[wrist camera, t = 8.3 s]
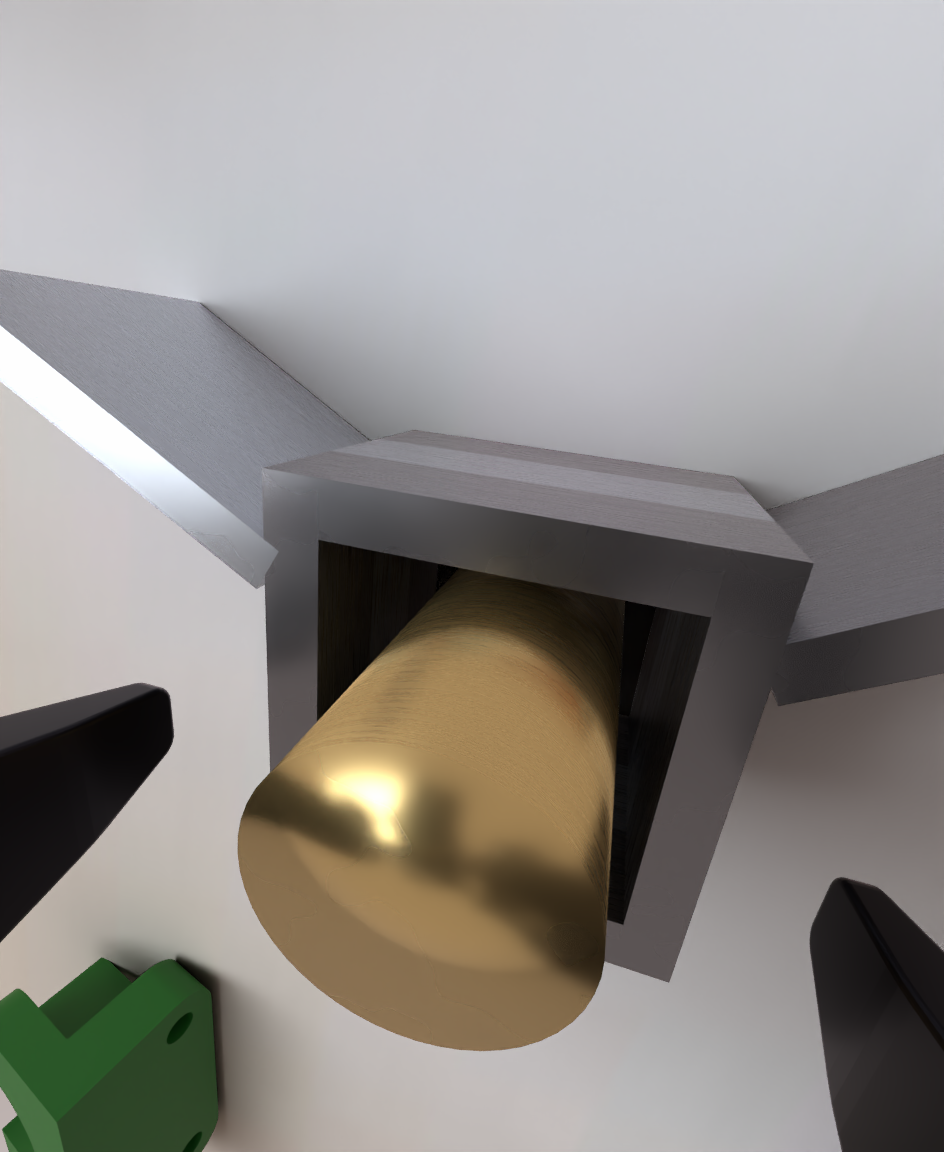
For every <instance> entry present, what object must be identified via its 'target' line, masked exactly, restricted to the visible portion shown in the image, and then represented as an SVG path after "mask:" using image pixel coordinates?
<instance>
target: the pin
mask: <svg viewBox="0 0 944 1152" xmlns="http://www.w3.org/2000/svg"><path fill="white" fill-rule="evenodd" d="M624 616H625V600H620V599H615V598H610V597H605V596H600V595H595V594H590V593H585V592H580V591H575V590H569V589H564V588H559V587H554V586H549V585H544V584H539V583H534V582H529V581H524V580H519V579H514V578H509V577H504V576H499V575H494V574H489V573H484V572H479V571H473V570H468V569H463V568H459V569H458V570H457V571H456V572H455V573H454V574H453V575H452V576H451V577H450V578H449V579H448V580H447V582H446V583H445V584H444V585H443V586H442V587H441V588H440V589H439V590H438V591H437V592H436V593H435V595H434V596H433V597H432V598H431V599H430V600H429V601H428V602H427V603H426V604H425V605H424V606H423V608H422V609H421V610H420V611H419V612H418V613H417V614H416V615H415V616H414V617H413V618H412V619H411V621H410V622H409V623H408V624H407V625H406V626H405V627H404V628H403V629H402V630H401V631H400V632H399V634H398V635H397V636H396V637H395V638H394V639H393V640H392V641H391V642H390V643H389V644H388V645H387V647H386V648H385V649H384V650H383V651H382V652H381V653H380V654H379V655H378V656H377V657H376V658H375V660H374V661H373V662H372V663H371V664H370V665H369V666H368V667H367V668H366V669H365V670H364V672H363V673H362V674H361V675H360V676H359V677H358V678H357V679H356V680H355V681H354V682H353V683H352V685H351V686H350V687H349V688H348V689H347V690H346V691H345V692H344V693H343V694H342V695H341V696H340V698H339V699H338V700H337V701H336V702H335V703H334V704H333V705H332V706H331V707H330V708H329V709H328V711H327V712H326V713H325V714H324V715H323V716H322V717H321V718H320V719H319V720H318V721H317V722H316V724H315V725H314V726H313V727H312V728H311V729H310V730H309V731H308V732H307V733H306V734H305V735H304V737H303V738H302V739H301V740H300V741H299V742H298V743H297V744H296V745H295V746H294V747H293V748H292V750H291V751H290V752H289V753H288V754H287V755H286V756H285V757H284V758H283V759H282V760H281V761H280V763H279V764H278V765H277V766H276V767H275V768H274V769H273V770H272V771H271V772H270V773H269V774H268V776H267V777H266V778H265V779H264V780H263V781H262V782H261V783H260V784H259V785H258V787H257V788H256V789H255V791H254V792H253V794H252V796H251V797H250V799H249V801H248V802H247V804H246V807H245V810H244V812H243V815H242V818H241V822H240V827H239V833H238V859H239V867H240V873H241V876H242V880H243V884H244V888H245V890H246V893H247V895H248V898H249V900H250V903H251V905H252V908H253V909H254V911H255V913H256V915H257V917H258V919H259V921H260V923H261V924H262V926H263V927H264V929H265V930H266V932H267V933H268V935H269V936H270V938H271V939H272V941H273V942H274V943H275V945H276V946H277V947H278V948H279V950H280V951H281V952H282V953H283V955H284V956H285V957H286V958H287V959H288V960H289V961H290V962H291V963H292V964H293V965H294V967H295V968H296V969H297V970H298V971H299V972H300V973H301V974H302V975H303V976H305V977H306V978H307V979H308V980H309V981H310V982H311V983H313V984H314V985H315V986H316V987H317V988H318V989H320V990H321V991H322V992H324V993H325V994H326V995H328V996H329V997H330V998H332V999H333V1000H334V1001H336V1002H337V1003H339V1004H340V1005H342V1006H343V1007H345V1008H346V1009H348V1010H350V1011H351V1012H353V1013H354V1014H356V1015H358V1016H360V1017H362V1018H364V1019H366V1020H367V1021H369V1022H371V1023H373V1024H375V1025H377V1026H379V1027H382V1028H384V1029H386V1030H389V1031H391V1032H393V1033H396V1034H398V1035H401V1036H404V1037H407V1038H410V1039H413V1040H416V1041H419V1042H423V1043H427V1044H431V1045H435V1046H440V1047H446V1048H452V1049H459V1050H473V1051H491V1050H505V1049H511V1048H517V1047H522V1046H526V1045H529V1044H532V1043H535V1042H539V1041H541V1040H543V1039H545V1038H548V1037H550V1036H552V1035H554V1034H556V1033H558V1032H559V1031H561V1030H562V1029H563V1028H565V1027H566V1026H568V1025H569V1024H570V1023H572V1022H573V1021H574V1020H575V1019H576V1018H577V1017H578V1016H579V1015H580V1014H581V1013H582V1012H583V1011H584V1010H585V1008H586V1007H587V1005H588V1004H589V1002H590V1001H591V999H592V997H593V996H594V994H595V992H596V989H597V987H598V984H599V982H600V979H601V976H602V971H603V965H604V959H605V946H606V929H607V911H608V894H609V876H610V859H611V842H612V824H613V807H614V789H615V772H616V755H617V737H618V720H619V703H620V685H621V668H622V650H623V633H624Z"/></svg>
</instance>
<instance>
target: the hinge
mask: <svg viewBox="0 0 944 1152" xmlns="http://www.w3.org/2000/svg"><path fill="white" fill-rule="evenodd" d="M0 381H1V382H2V383H3V384H5V385H6V386H7V387H8V388H9V389H11V390H12V391H13V392H14V393H16V394H17V395H18V396H19V397H21V398H22V399H23V400H24V401H25V402H27V403H28V404H29V405H30V406H32V407H33V408H34V409H35V410H37V411H38V412H39V413H40V414H41V415H43V416H44V417H45V418H46V419H48V420H49V421H50V422H51V423H53V424H54V425H55V426H56V427H58V428H59V429H60V430H61V431H62V432H64V433H65V434H66V435H67V436H69V437H70V438H71V439H72V440H74V441H75V442H76V443H77V444H78V445H80V446H81V447H82V448H83V449H85V450H86V451H87V452H88V453H90V454H91V455H92V456H93V457H94V458H96V459H97V460H98V461H99V462H101V463H102V464H103V465H104V466H106V467H107V468H108V469H109V470H111V471H112V472H113V473H114V474H115V475H117V476H118V477H119V478H120V479H122V480H123V481H124V482H125V483H127V484H128V485H129V486H130V487H131V488H133V489H134V490H135V491H136V492H138V493H139V494H140V495H141V496H143V497H144V498H145V499H146V500H147V501H149V502H150V503H151V504H152V505H154V506H155V507H156V508H157V509H159V510H160V511H161V512H162V513H164V514H165V515H166V516H167V517H168V518H170V519H171V520H172V521H173V522H175V523H176V524H177V525H178V526H180V527H181V528H182V529H183V530H184V531H186V532H187V533H188V534H189V535H191V536H192V537H193V538H194V539H196V540H197V541H198V542H199V543H200V544H202V545H203V546H204V547H205V548H207V549H208V550H209V551H210V552H212V553H213V554H214V555H215V556H217V557H218V558H219V559H220V560H221V561H223V562H224V563H225V564H226V565H228V566H229V567H230V568H231V569H233V570H234V571H235V572H236V573H237V574H239V575H240V576H241V577H242V578H244V579H245V580H246V581H247V582H249V583H250V584H251V585H252V586H253V587H255V588H256V589H258V588H259V587H261V586H263V585H265V605H266V640H267V674H268V709H269V743H270V772H271V771H272V770H273V769H274V768H275V767H276V766H277V765H278V764H279V763H280V761H281V760H282V759H283V758H284V757H285V756H286V755H287V754H288V753H289V752H290V751H291V750H292V748H293V747H294V746H295V745H296V744H297V743H298V742H299V741H300V740H301V739H302V738H303V737H304V735H305V734H306V733H307V732H308V731H309V730H310V729H311V728H312V727H313V726H314V725H315V724H316V722H317V721H318V720H319V719H320V718H321V717H322V716H323V715H324V714H325V713H326V712H327V711H328V709H329V708H330V707H331V706H332V705H333V704H334V703H335V702H336V701H337V700H338V699H339V698H340V696H341V695H342V694H343V693H344V692H345V691H346V690H347V689H348V688H349V687H350V686H351V685H352V683H353V682H354V681H355V680H356V679H357V678H358V677H359V676H360V675H361V674H362V673H363V672H364V670H365V669H366V668H367V667H368V666H369V665H370V664H371V663H372V662H373V661H374V660H375V658H376V657H377V656H378V655H379V654H380V653H381V652H382V651H383V650H384V649H385V648H386V647H387V645H388V644H389V643H390V642H391V641H392V640H393V639H394V638H395V637H396V636H397V635H398V634H399V632H400V631H401V630H402V629H403V628H404V627H405V626H406V625H407V624H408V623H409V622H410V621H411V619H412V618H413V617H414V616H415V615H416V614H417V613H418V612H419V611H420V610H421V609H422V608H423V606H424V605H425V604H426V603H427V602H428V601H429V600H430V599H431V598H432V597H433V596H434V595H435V593H436V584H437V573H438V564H443V565H448V566H453V567H458V568H463V569H468V570H473V571H479V572H484V573H489V574H494V575H499V576H504V577H509V578H514V579H519V580H524V581H529V582H534V583H539V584H544V585H549V586H554V587H559V588H564V589H569V590H575V591H580V592H585V593H590V594H595V595H600V596H605V597H610V598H615V599H620V600H625V601H630V602H635V603H640V604H645V605H650V606H655V607H656V609H655V613H654V617H653V621H652V625H651V629H650V633H649V637H648V642H647V646H646V650H645V654H644V658H643V662H642V666H641V670H640V674H639V678H638V682H637V686H636V690H635V694H634V699H633V703H632V707H631V711H630V715H629V717H628V716H624V715H620V714H619V720H618V737H617V755H616V772H615V789H614V807H613V824H612V842H611V859H610V876H609V894H608V911H607V929H606V946H605V959H604V961H606V962H609V963H612V964H615V965H618V966H621V967H624V968H627V969H630V970H633V971H636V972H639V973H642V974H645V975H648V976H651V977H654V978H657V979H660V980H663V981H666V982H669V981H670V978H671V975H672V973H673V970H674V967H675V964H676V961H677V958H678V955H679V952H680V949H681V946H682V944H683V941H684V938H685V935H686V932H687V929H688V926H689V923H690V920H691V918H692V915H693V912H694V909H695V906H696V903H697V900H698V897H699V894H700V892H701V889H702V886H703V883H704V880H705V877H706V874H707V871H708V868H709V866H710V863H711V860H712V857H713V854H714V851H715V848H716V845H717V842H718V840H719V837H720V834H721V831H722V828H723V825H724V822H725V819H726V816H727V813H728V811H729V808H730V805H731V802H732V799H733V796H734V793H735V790H736V787H737V785H738V782H739V779H740V776H741V773H742V770H743V767H744V764H745V761H746V759H747V756H748V753H749V750H750V747H751V744H752V741H753V738H754V735H755V733H756V730H757V727H758V724H759V721H760V718H761V715H762V712H763V709H764V706H765V704H766V701H767V698H768V695H769V692H770V689H771V690H772V692H773V695H774V697H775V699H776V702H777V704H778V706H781V705H786V704H791V703H796V702H801V701H806V700H811V699H816V698H821V697H826V696H831V695H836V694H841V693H846V692H851V691H857V690H862V689H867V688H872V687H877V686H882V685H887V684H892V683H897V682H902V681H907V680H912V679H917V678H922V677H927V676H932V675H937V674H942V673H944V454H943V455H940V456H937V457H934V458H931V459H928V460H924V461H921V462H918V463H915V464H912V465H909V466H905V467H902V468H899V469H896V470H893V471H890V472H887V473H883V474H880V475H877V476H874V477H871V478H868V479H864V480H861V481H858V482H855V483H852V484H849V485H845V486H842V487H839V488H836V489H833V490H830V491H826V492H823V493H820V494H817V495H814V496H811V497H808V498H804V499H801V500H798V501H795V502H792V503H789V504H785V505H782V506H779V507H776V508H773V509H770V510H766V511H765V510H764V509H763V508H762V507H761V505H760V504H759V503H758V502H757V501H756V500H755V499H754V498H753V497H752V496H751V495H750V494H749V492H748V491H747V490H746V489H745V488H744V487H743V486H742V485H741V484H740V483H739V482H738V481H737V480H736V478H735V477H732V476H725V475H718V474H712V473H705V472H698V471H691V470H684V469H677V468H671V467H664V466H657V465H650V464H643V463H636V462H630V461H623V460H616V459H609V458H602V457H595V456H589V455H582V454H575V453H568V452H561V451H554V450H548V449H541V448H534V447H527V446H520V445H513V444H507V443H500V442H493V441H486V440H479V439H472V438H466V437H459V436H452V435H445V434H438V433H431V432H425V431H418V430H412V431H408V432H404V433H400V434H396V435H392V436H388V437H384V438H380V439H376V440H372V441H369V440H368V439H367V438H366V437H364V436H363V435H362V434H361V433H360V432H358V431H357V430H356V429H355V428H353V427H352V426H351V425H350V424H348V423H347V422H346V421H345V420H343V419H342V418H341V417H340V416H339V415H337V414H336V413H335V412H334V411H332V410H331V409H330V408H329V407H327V406H326V405H325V404H324V403H322V402H321V401H320V400H319V399H318V398H316V397H315V396H314V395H313V394H311V393H310V392H309V391H308V390H306V389H305V388H304V387H303V386H301V385H300V384H299V383H298V382H296V381H295V380H294V379H293V378H292V377H290V376H289V375H288V374H287V373H285V372H284V371H283V370H282V369H280V368H279V367H278V366H277V365H275V364H274V363H273V362H272V361H271V360H269V359H268V358H267V357H266V356H264V355H263V354H262V353H261V352H259V351H258V350H257V349H256V348H254V347H253V346H252V345H251V344H250V343H248V342H247V341H246V340H245V339H243V338H242V337H241V336H240V335H238V334H237V333H236V332H235V331H233V330H232V329H231V328H230V327H229V326H227V325H226V324H225V323H224V322H222V321H221V320H220V319H219V318H217V317H216V316H215V315H214V314H212V313H211V312H210V311H209V310H208V309H206V308H205V307H204V306H203V305H201V304H200V303H199V302H197V301H190V300H184V299H178V298H172V297H166V296H160V295H154V294H148V293H141V292H135V291H129V290H123V289H117V288H111V287H105V286H99V285H93V284H86V283H80V282H74V281H68V280H62V279H56V278H50V277H44V276H37V275H31V274H25V273H19V272H13V271H7V270H1V269H0Z"/></svg>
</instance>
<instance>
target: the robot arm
mask: <svg viewBox="0 0 944 1152" xmlns="http://www.w3.org/2000/svg"><path fill="white" fill-rule="evenodd" d="M173 738H174V729H173V719H172V709H171V699H170V695H169V694H168V692H167V691H166V690H165V689H163V688H161V687H157V686H153V685H150V684H146V683H135V684H131V685H127V686H123V687H119V688H115V689H111V690H107V691H103V692H99V693H95V694H91V695H87V696H83V697H79V698H75V699H71V700H67V701H63V702H59V703H55V704H51V705H47V706H43V707H39V708H35V709H31V710H27V711H23V712H19V713H15V714H11V715H7V716H3V717H0V942H1V941H2V940H3V939H4V938H5V937H6V936H7V935H8V934H9V933H10V932H11V931H12V930H13V929H14V928H15V926H16V925H17V924H18V923H19V922H20V921H21V920H22V919H23V918H24V917H25V916H26V915H27V914H28V913H29V912H30V911H31V910H32V909H33V907H34V906H35V905H36V904H37V903H38V902H39V901H40V900H41V899H42V898H43V897H44V896H45V895H46V894H47V893H48V892H49V891H50V890H51V889H52V887H53V886H54V885H55V884H56V883H57V882H58V881H59V880H60V879H61V878H62V877H63V876H64V875H65V874H66V873H67V872H68V871H69V870H70V868H71V867H72V866H73V865H74V864H75V863H76V862H77V861H78V860H79V859H80V858H81V857H82V856H83V855H84V854H85V852H86V851H87V850H88V849H89V848H90V847H91V846H92V845H93V844H94V843H95V841H96V840H97V839H98V838H99V837H100V836H101V834H102V833H103V832H104V831H105V830H106V828H107V827H108V826H109V825H110V824H111V822H112V821H113V820H114V819H115V817H116V816H117V815H118V814H119V812H120V811H121V810H122V809H123V807H124V806H125V805H126V804H127V802H128V801H129V800H130V799H131V797H132V796H133V795H134V794H135V792H136V791H137V790H138V789H139V787H140V786H141V785H142V784H143V782H144V781H145V780H146V779H147V777H148V776H149V775H150V774H151V772H152V771H153V770H154V769H155V767H156V766H157V765H158V764H159V762H160V761H161V760H162V759H163V757H164V756H165V755H166V754H167V752H168V751H169V749H170V747H171V745H172V742H173ZM810 953H811V960H812V967H813V975H814V982H815V989H816V997H817V1004H818V1012H819V1019H820V1026H821V1034H822V1041H823V1048H824V1056H825V1063H826V1071H827V1078H828V1084H829V1090H830V1096H831V1103H832V1108H833V1112H834V1117H835V1122H836V1127H837V1131H838V1136H839V1140H840V1144H841V1149H842V1152H944V951H943V950H942V949H941V948H940V947H939V946H938V945H937V944H936V943H935V942H934V941H933V940H932V939H931V938H930V937H929V936H928V935H927V934H926V933H925V932H924V931H923V930H922V929H921V928H920V927H919V926H918V925H917V924H916V923H915V922H914V921H913V920H912V919H911V918H910V917H909V916H908V915H907V914H906V913H905V912H904V911H903V910H902V909H901V908H900V907H899V906H898V905H897V904H896V903H895V902H894V901H893V900H892V899H891V898H889V897H888V896H887V895H886V894H885V893H884V892H883V891H882V890H881V889H879V888H878V887H875V886H873V885H870V884H866V883H863V882H859V881H855V880H852V879H848V878H844V877H840V878H836V879H835V880H834V881H833V882H832V883H831V885H830V887H829V889H828V891H827V893H826V895H825V898H824V900H823V902H822V904H821V906H820V909H819V911H818V913H817V915H816V917H815V920H814V922H813V924H812V927H811V932H810Z"/></svg>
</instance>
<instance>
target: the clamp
mask: <svg viewBox="0 0 944 1152" xmlns="http://www.w3.org/2000/svg"><path fill="white" fill-rule="evenodd" d="M0 1087H1V1089H2V1090H3V1092H4V1093H5V1094H6V1096H7V1098H8V1099H9V1101H10V1103H11V1105H12V1106H13V1108H14V1110H15V1111H16V1113H17V1116H16V1117H15V1118H14V1119H13V1120H12V1121H11V1122H9V1123H8V1124H7V1125H6V1126H5V1127H4V1128H3V1129H2V1131H3V1134H4V1137H5V1140H6V1144H7V1147H8V1150H9V1152H202V1150H203V1149H204V1147H205V1146H206V1144H207V1142H208V1141H209V1139H210V1137H211V1135H212V1133H213V1131H214V1129H215V1126H216V1123H217V1120H218V1099H217V1083H216V1066H215V1049H214V1032H213V1015H212V998H211V993H210V991H209V990H208V989H207V988H205V987H204V986H203V985H202V984H201V983H200V982H199V981H198V980H196V979H195V978H194V977H193V976H192V975H191V974H190V973H189V972H187V971H186V970H185V969H184V968H183V967H182V966H181V965H180V964H178V963H177V962H176V961H175V960H172V959H167V960H164V961H161V962H159V963H157V964H155V965H154V966H152V967H151V968H149V969H148V970H147V971H146V972H144V973H143V974H142V975H141V976H140V977H139V978H137V979H136V980H135V981H134V982H133V983H132V982H130V981H129V980H128V979H127V978H126V977H125V976H124V975H123V974H122V973H121V972H120V971H119V970H118V969H117V968H116V967H115V966H114V965H113V964H112V963H111V962H110V961H109V960H106V959H104V958H100V959H99V960H98V961H97V962H95V963H94V964H93V965H92V966H90V967H89V968H88V969H87V970H85V971H84V972H83V973H82V974H80V975H79V976H78V977H77V978H75V979H74V980H73V981H72V982H70V983H69V984H68V985H66V986H65V987H64V988H63V989H61V990H60V991H59V992H58V993H56V994H55V995H54V996H53V997H51V998H50V999H49V1000H48V1001H46V1002H45V1003H44V1004H43V1005H41V1006H40V1007H39V1008H38V1007H37V1005H36V1004H35V1003H34V1002H33V1001H32V1000H31V999H30V998H29V997H28V995H27V994H26V993H24V992H23V991H22V990H20V989H15V990H14V991H13V992H11V993H10V994H9V995H7V996H6V997H5V998H3V999H2V1000H1V1001H0Z"/></svg>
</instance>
